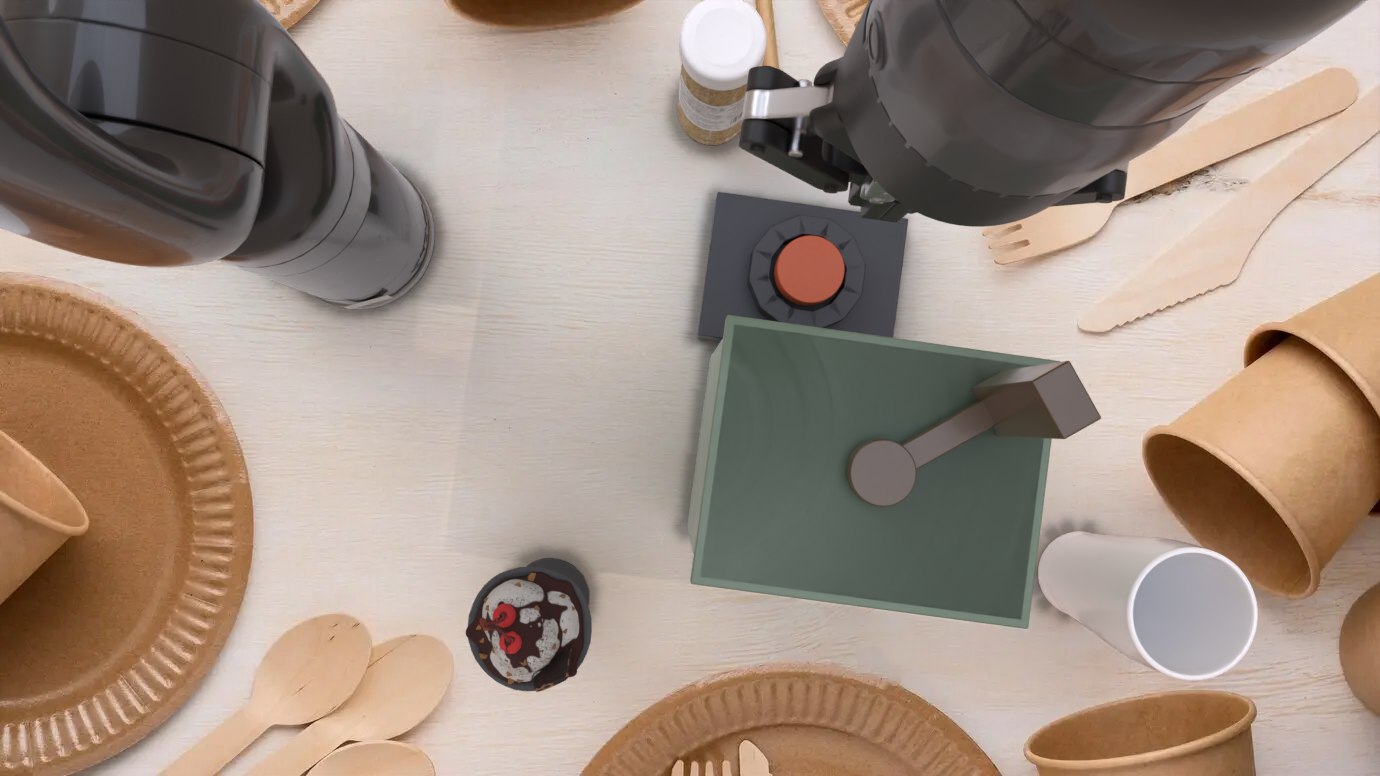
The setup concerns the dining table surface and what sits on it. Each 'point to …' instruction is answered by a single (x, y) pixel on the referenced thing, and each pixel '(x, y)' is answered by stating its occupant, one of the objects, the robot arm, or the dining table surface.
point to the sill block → (815, 492)
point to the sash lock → (977, 427)
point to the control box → (756, 239)
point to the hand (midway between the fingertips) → (879, 195)
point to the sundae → (531, 625)
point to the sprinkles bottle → (717, 67)
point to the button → (809, 270)
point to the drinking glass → (1154, 600)
